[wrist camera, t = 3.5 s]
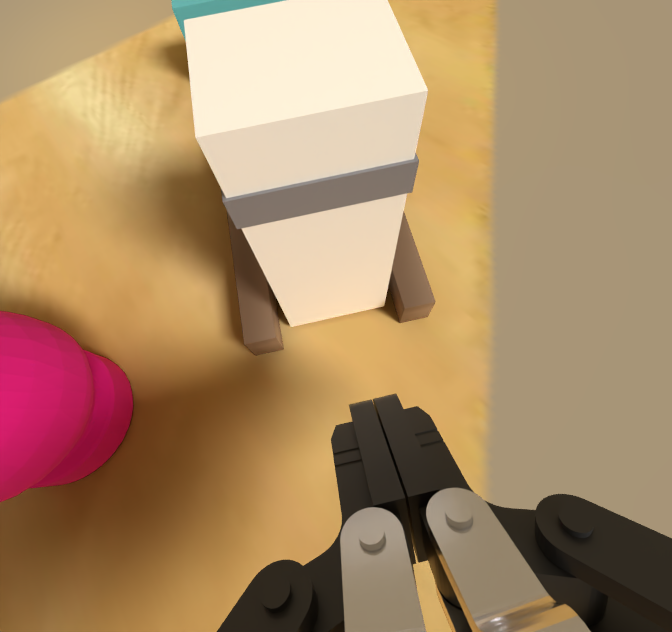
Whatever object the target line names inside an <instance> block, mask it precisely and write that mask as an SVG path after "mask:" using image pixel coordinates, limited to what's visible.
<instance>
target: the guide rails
mask: <svg viewBox="0 0 672 632" xmlns="http://www.w3.org/2000/svg"><path fill="white" fill-rule="evenodd" d="M227 216H228V224H229V231H230V239H231V247H232V254H233V262H234V270H235V277H236V285H237V292H238V300H239V308H240V315H241V323H242V331H243V338H244V345H245V346H246V347H247V348H248V349H249V350H250V351H251V352H252V353H253V354H254V355H260V354H264V353H269V352H273V351H278V350H282V349H284V347H283V341H282V335H281V330H280V324H279V318H278V312H277V306H276V301H275V295H274V292H273V290H272V288H271V286H270V284H269V282H268V280H267V278H266V276H265V274H264V272H263V270H262V268H261V266H260V264H259V262H258V260H257V258H256V257H255V255H254V253H253V251H252V249H251V247H250V245H249V243H248V241H247V239H246V237H245V235H244V233H243V231H242V229H237V228H236V226H235V225H234V223H233V221H232V219H231V217H230V215H229V213H228V211H227ZM388 286H389V289H390V292H391V296H392V299H393V302H394V306H395V309H396V312H397V315H398V319H399V322H400V323H402V322H407V321H411V320H416V319H420V318H425V317H428V315H429V313H430V311H431V309H432V308H433V306H434V304H435V299H434V296H433V293H432V290H431V287H430V285H429V282H428V279H427V276H426V273H425V270H424V268H423V265H422V262H421V259H420V256H419V253H418V250H417V248H416V245H415V242H414V239H413V236H412V233H411V231H410V228H409V225H408V222H407V219H406V216H405V213H404V211H403V216H402V221H401V226H400V231H399V236H398V241H397V245H396V250H395V255H394V260H393V265H392V270H391V275H390V280H389V285H388Z"/></svg>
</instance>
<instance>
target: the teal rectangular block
mask: <svg viewBox="0 0 672 632" xmlns="http://www.w3.org/2000/svg"><path fill="white" fill-rule="evenodd" d="M280 1H286V0H172V9H173V11H174V14H175V17H176V19H177V21H178V24H179V26H180V29H181V31H182V34H183V36H184V38H185V41H186V37H185V27H184V20H187V19H192V18H197V17H202V16H207V15H213V14H218V13H223V12H228V11H233V10H239V9H244V8H249V7H254V6H260V5H265V4H270V3H275V2H280Z"/></svg>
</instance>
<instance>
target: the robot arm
mask: <svg viewBox="0 0 672 632" xmlns="http://www.w3.org/2000/svg"><path fill="white" fill-rule="evenodd" d="M373 403H374V405H373ZM349 407H350V412H351V416H352V421H353V422H349V423H344V424H340V425H336V427H335V430H334V432H333V435H332V438H331V443H332V449H333V455H334V463H335V470H336V477H337V484H338V491H339V498H340V505H341V512H342V526H341V529H340V532H339V535H338V537H337V538H336V540H335V542H334V543H333V544H332V546H331V547H330V548H329V549H328V550H327V551H325V552H324V553H323V554H321V555H320V556H318V557H317V558H315V559H314V560H312V561H310V562H309V563H307V564H306V565H304V566H302V565H301V564H300V563H298V562H296V561H293V560H280V561H276V562H273V563H271V564H269V565H268V566H266V567H265V568H263V569H262V570H261V571H260V572H259V573H258V574H257V575H256V576H255V578H254V579H253V580H252V582H251V583H250V584H249V586H248V587H247V589H246V590H245V592H244V593H243V595H242V596H241V597H240V599H239V600H238V602H237V603H236V605H235V606H234V608H233V609H232V610H231V612H230V613H229V615H228V616H227V618H226V619H225V621H224V622H223V623H222V625H221V626H220V628H219V629H218V631H217V632H426V629H425V624H424V620H423V615H422V611H421V606H420V602H419V597H418V593H417V587H416V581H415V575H414V570H413V564H416V560H415V554H414V550H415V553H416V556H417V559H418V562H423V561H427V560H428V561H429V564H430V567H431V570H432V573H433V576H434V579H435V584H436V591H437V595H438V598H439V601H440V603H441V606H442V608H443V611H444V613H445V616H446V618H447V620H448V623H449V625H450V628H451V630H452V632H672V538H669V537H667V536H665V535H663V534H660V533H658V532H656V531H654V530H652V529H649V528H647V527H645V526H643V525H641V524H638V523H636V522H634V521H632V520H629V519H627V518H625V517H623V516H620V515H618V514H616V513H614V512H611V511H609V510H607V509H605V508H603V507H600V506H598V505H596V504H594V503H592V502H589V501H587V500H585V499H582V498H579V497H576V496H573V495H567V494H556V495H551V496H548V497H546V498H544V499H543V500H542V501H540V503H539V504H538V506H537V508H536V510H526V509H511V508H504V507H499V506H496V505H493V504H491V503H488V502H487V501H485V500H483V499H482V498H481V497H480V496H478V495H477V494H475V493H474V492H473V491H472V490H471V488H470V487H469V485H468V484H467V482H466V480H465V479H464V477H463V475H462V473H461V471H460V469H459V468H458V466H457V464H456V462H455V460H454V459H453V457H452V455H451V453H450V451H449V450H448V448H447V446H446V444H445V442H443V439H442V437H441V435H440V433H439V431H437V428H436V426H435V424H434V422H433V420H432V419H431V417H430V415H428V414H427V413H426V412H424V411H423V410H422V409H420V408H419V407H418V406H416V407H412V408H408V409H403V407H402V405H401V403H400V401H399V398H398V396H397V395H396V394H392V395H388V396H384V397H380V398H375V399H373V402H372V400H367V401H363V402H359V403H354V404H350V405H349ZM413 547H414V548H413Z"/></svg>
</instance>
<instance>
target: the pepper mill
mask: <svg viewBox="0 0 672 632" xmlns="http://www.w3.org/2000/svg"><path fill="white" fill-rule="evenodd" d="M132 411H133V396H132V390H131V386H130V383H129V380H128V379H127V377H126V375H125V373H124V372H123V371H122V370H121V369H120V368H119V366H118V365H116V364H115V363H114V362H112V361H111V360H109V359H107V358H104V357H102V356H99V355H96V354H94V353H91V352H88V351H86V350H83V349H82V348H81V347H80V345H79V344H78V343H77V342H76V341H75V339H74V338H72V337H71V336H70V335H69V334H67V333H66V332H65V331H63V330H62V329H60V328H58V327H56V326H54V325H52V324H50V323H47V322H44V321H41V320H38V319H35V318H32V317H29V316H26V315H22V314H16V313H11V312H5V311H0V502H2V501H5V500H7V499H10V498H12V497H15V496H17V495H18V494H20V493H22V492H23V491H25V490H26V489H28V488H38V487H47V486H57V485H63V484H68V483H71V482H75V481H77V480H79V479H82V478H84V477H86V476H88V475H89V474H91V473H92V472H94V471H95V470H97V469H98V468H99V467H100V466H102V465H103V464H104V463H105V462H106V461H107V460H108V459H109V458H110V457H111V456H112V455H113V453H114V452H115V451H116V449H117V448H118V446H119V445H120V444H121V442H122V441H123V438H124V436H125V434H126V432H127V430H128V428H129V425H130V421H131V416H132Z"/></svg>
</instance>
